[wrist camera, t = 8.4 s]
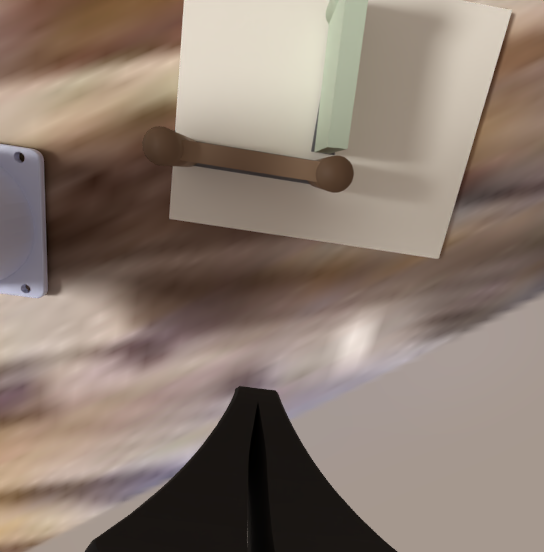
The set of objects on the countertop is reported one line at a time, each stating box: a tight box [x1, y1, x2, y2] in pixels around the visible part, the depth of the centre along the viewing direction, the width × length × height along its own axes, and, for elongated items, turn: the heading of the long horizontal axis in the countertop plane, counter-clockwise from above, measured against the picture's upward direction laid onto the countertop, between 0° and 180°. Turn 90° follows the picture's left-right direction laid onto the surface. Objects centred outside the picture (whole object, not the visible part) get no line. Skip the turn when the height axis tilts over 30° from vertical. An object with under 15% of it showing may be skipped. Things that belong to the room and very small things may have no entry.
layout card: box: [169, 0, 512, 259], centre depth 18 cm, size 15×12×1 cm
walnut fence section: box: [142, 126, 354, 193], centre depth 16 cm, size 8×1×5 cm, turn 81°
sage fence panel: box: [314, 0, 368, 154], centre depth 15 cm, size 7×1×4 cm, turn 175°
